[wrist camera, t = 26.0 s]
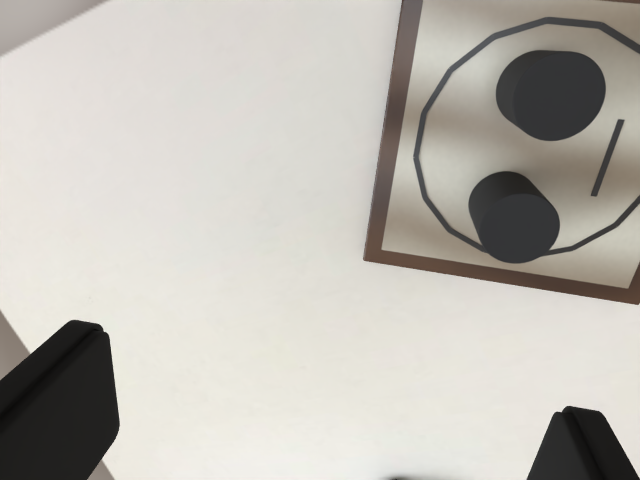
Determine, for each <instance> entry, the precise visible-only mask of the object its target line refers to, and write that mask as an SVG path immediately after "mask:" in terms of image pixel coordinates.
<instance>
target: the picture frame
mask: <svg viewBox="0 0 640 480" xmlns="http://www.w3.org/2000/svg"><path fill="white" fill-rule="evenodd" d="M535 50H551V51H572V52H578V53H581V54H584V55H586V56H588V57H590V58H591V59H592V60H594V61H595V62H596V63H597V64H598V66H599V67H600V69H601V70H602V72H603V75H604V78H605V83H606V94H605V99H604V103H603V105H602V108H601V110H600V112H599V113H598V115H597V116H596V118H595V119H594V120H593V121H592V123H591V124H590V125H589V126H588V127H586V128H585V129H584V130H583V131H581V132H580V133H578V134H576V135H574V136H572V137H570V138H567V139H564V140H559V141H543V140H539V139H536V138H533V137H531V136H529V135H528V134H527V133H525V132H524V131H522V130H521V129H520V128H518V127H517V126H516V125H514V124H513V123H511V122H510V121H509V120H507V119H506V118H505V117H504V116H503V115H502V113H501V112H500V110H499V108H498V105H497V102H496V86H497V83H498V80H499V78H500V75H501V74H502V72H503V70H504V69H505V68H506V67H507V66H508V64H509V63H510V62H512V61H513V60H514V59H515V58H517V57H518V56H520V55H522V54H524V53H527V52H530V51H535ZM502 171H511V172H516V173H519V174H521V175H523V176H525V177H526V178H528V179H529V180H530V181H531V182H532V183H533V184H534V185H535V186H536V188H537V189H538V190H539V191H540V192H541V193H542V194H543V195H544V196H545V197H546V198H547V199H548V201H549V202H550V203H551V204H552V205H553V206H554V208H555V209H556V211H557V213H558V215H559V219H560V231H559V235H558V237H557V240H556V241H555V243H554V245H553V246H552V247H551V248H550V249H549V250H548V251H547V252H546V253H545V254H544V255H542V256H541V257H539V258H537V259H535V260H533V261H530V262H526V263H520V264H512V263H505V262H502V261H499V260H497V259H495V258H493V257H492V256H490V255H489V254H488V253H487V252H486V251H485V249H484V248H483V246H482V244H481V242H480V240H479V237H478V234H477V232H476V229H475V227H474V224H473V221H472V219H471V216H470V213H469V208H468V202H469V197H470V194H471V192H472V190H473V189H474V187H475V186H476V185H477V184H478V183H479V182H480V181H481V180H482V179H483V178H485V177H487V176H488V175H491V174H493V173H497V172H502ZM363 260H364V261H369V262H375V263H381V264H387V265H394V266H400V267H406V268H412V269H418V270H425V271H431V272H437V273H443V274H449V275H456V276H462V277H468V278H474V279H480V280H487V281H493V282H499V283H505V284H511V285H518V286H524V287H530V288H536V289H542V290H549V291H555V292H561V293H567V294H573V295H580V296H586V297H592V298H598V299H604V300H611V301H617V302H623V303H629V304H635V305H639V303H640V0H402V5H401V12H400V18H399V25H398V32H397V38H396V45H395V52H394V58H393V65H392V71H391V78H390V85H389V91H388V98H387V105H386V111H385V118H384V125H383V131H382V138H381V144H380V151H379V158H378V164H377V171H376V178H375V184H374V191H373V198H372V204H371V211H370V217H369V224H368V231H367V237H366V244H365V251H364V257H363Z"/></svg>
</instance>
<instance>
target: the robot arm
mask: <svg viewBox="0 0 640 480" xmlns="http://www.w3.org/2000/svg"><path fill="white" fill-rule="evenodd" d="M119 426H120V422H119V413H118V405H117V397H116V388H115V380H114V372H113V364H112V355H111V347H110V339H109V335H108V334H107V333H106V332H104V331H103V328H102V326H101V325H99V324H96V323H90V322H84V321H79V320H71V321H69V322H68V323H66V324H65V325H64V326H63V327H62V328H60V329H59V330H58V331H57V332H56V333H55V334H53V335H52V336H51V337H50V338H49V339H48V340H47V341H45V342H44V343H43V344H42V345H41V346H40V347H38V348H37V349H36V350H35V351H34V352H33V353H31V354H30V355H29V356H28V357H27V358H26V359H24V360H23V361H22V362H21V363H20V364H19V365H18V366H16V367H15V368H14V369H13V370H12V371H11V372H9V373H8V374H7V375H6V376H5V377H4V378H2V379H1V380H0V480H87V479H88V477H89V476H90V475H91V473H92V472H93V470H94V469H95V468H96V466H97V465H98V463H99V462H100V460H101V459H102V458H103V456H104V455H105V453H106V452H107V450H108V449H109V448H110V446H111V445H112V443H113V442H114V440H115V439H116V436H117V434H118V431H119ZM527 480H640V479H639V477H638V475H637V473H636V471H635V470H634V468H633V466H632V464H631V463H630V461H629V459H628V457H627V455H626V454H625V452H624V450H623V448H622V446H621V445H620V443H619V441H618V439H617V438H616V436H615V434H614V432H613V430H612V429H611V427H610V425H609V423H608V422H607V420H606V418H605V417H604V415H603V414H602V413H601V412H599V411H595V410H589V409H584V408H578V407H572V406H567V407H565V408H564V409H563V411H562V412H555V413H554V415H553V416H552V419H551V421H550V424H549V426H548V429H547V431H546V434H545V436H544V438H543V441H542V443H541V446H540V448H539V451H538V453H537V456H536V458H535V460H534V463H533V465H532V468H531V470H530V473H529V475H528V477H527Z"/></svg>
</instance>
